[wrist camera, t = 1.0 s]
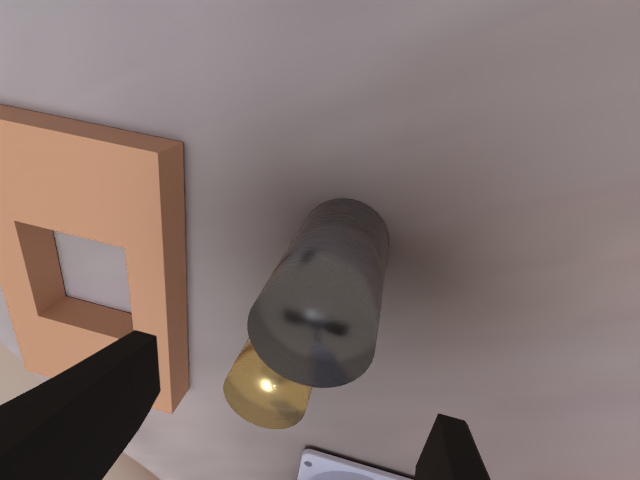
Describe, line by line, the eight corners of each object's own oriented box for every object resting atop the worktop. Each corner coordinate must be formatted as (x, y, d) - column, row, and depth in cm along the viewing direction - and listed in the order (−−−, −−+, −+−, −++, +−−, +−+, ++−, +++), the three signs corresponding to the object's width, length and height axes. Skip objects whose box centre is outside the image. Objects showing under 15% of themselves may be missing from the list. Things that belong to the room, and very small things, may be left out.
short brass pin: (318, 376, 22) (300, 438, 19) (251, 358, 23) (222, 415, 19) (328, 322, 20) (311, 379, 17) (256, 304, 21) (224, 355, 17)
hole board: (188, 388, 25) (172, 414, 23) (51, 348, 26) (25, 370, 25) (183, 142, 18) (157, 152, 16) (-9, 102, 19) (-52, 108, 17)
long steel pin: (378, 285, 19) (361, 401, 13) (298, 265, 19) (244, 368, 13) (398, 209, 17) (389, 302, 11) (308, 190, 17) (251, 268, 11)
